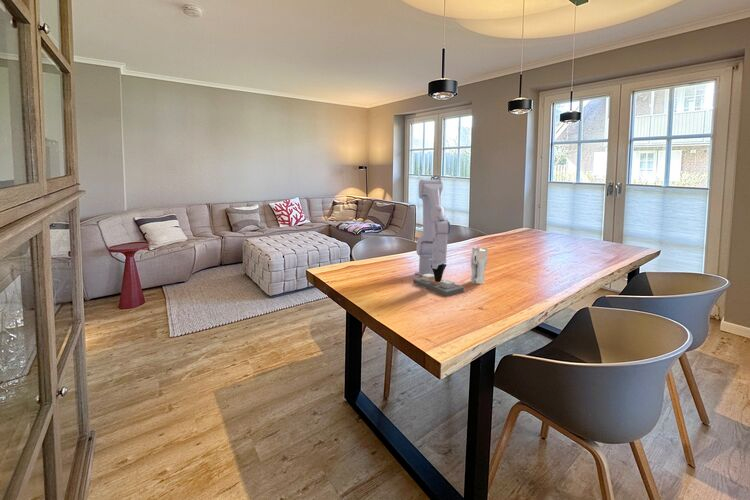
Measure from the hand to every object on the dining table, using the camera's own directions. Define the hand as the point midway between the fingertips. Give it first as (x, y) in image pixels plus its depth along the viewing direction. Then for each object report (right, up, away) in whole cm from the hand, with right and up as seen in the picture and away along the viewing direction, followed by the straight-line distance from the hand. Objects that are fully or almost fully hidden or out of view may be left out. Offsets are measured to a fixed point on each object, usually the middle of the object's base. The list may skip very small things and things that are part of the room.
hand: (437, 281), depth 157 cm
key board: (0, -3, +1) cm, 3 cm away
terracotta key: (0, -2, +1) cm, 2 cm away
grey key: (+3, -2, -4) cm, 6 cm away
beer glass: (+19, -1, +9) cm, 21 cm away
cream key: (-3, 0, +5) cm, 6 cm away
